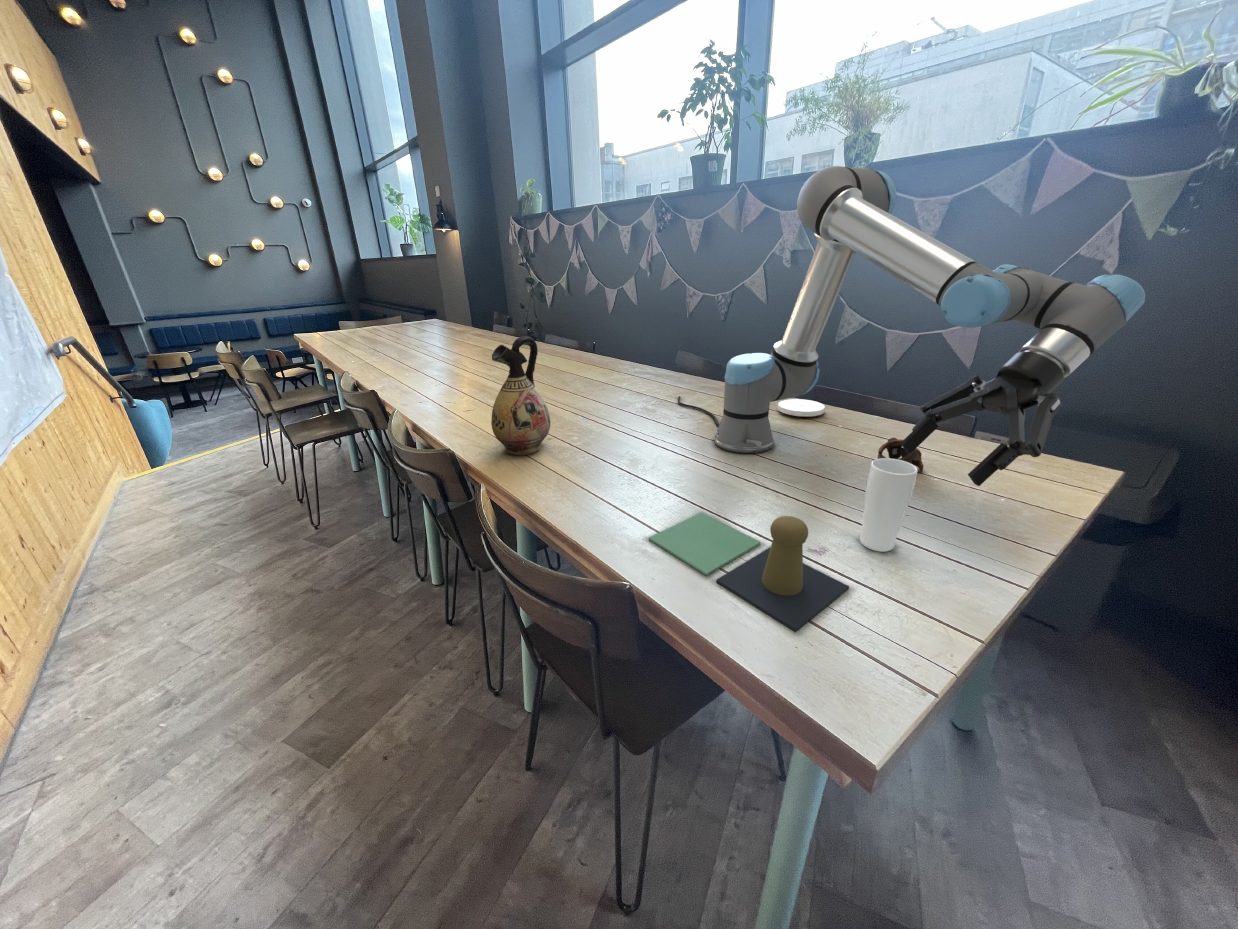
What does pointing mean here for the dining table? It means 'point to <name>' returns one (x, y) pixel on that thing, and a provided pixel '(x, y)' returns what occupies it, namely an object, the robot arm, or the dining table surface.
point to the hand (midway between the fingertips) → (936, 463)
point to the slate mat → (783, 608)
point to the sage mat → (704, 543)
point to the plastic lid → (801, 407)
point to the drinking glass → (886, 502)
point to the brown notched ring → (901, 453)
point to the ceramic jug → (519, 402)
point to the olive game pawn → (785, 556)
